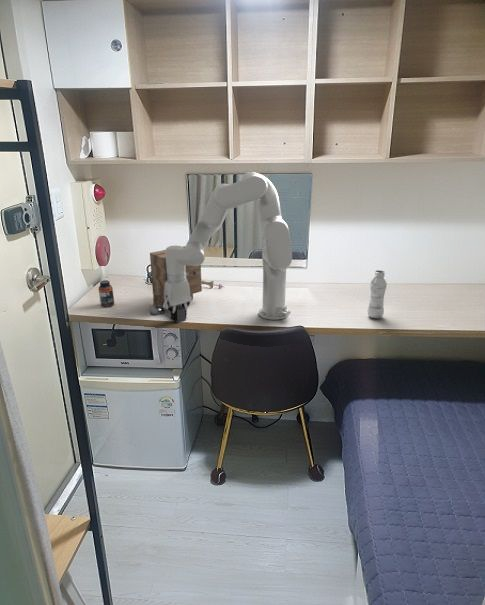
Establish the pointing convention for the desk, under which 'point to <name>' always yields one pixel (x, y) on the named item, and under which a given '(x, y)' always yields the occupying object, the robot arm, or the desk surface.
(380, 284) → the plastic bottle
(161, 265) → the cabinet
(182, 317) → the grey hammer
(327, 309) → the desk surface
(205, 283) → the decorative key
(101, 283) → the supplement bottle
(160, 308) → the token
